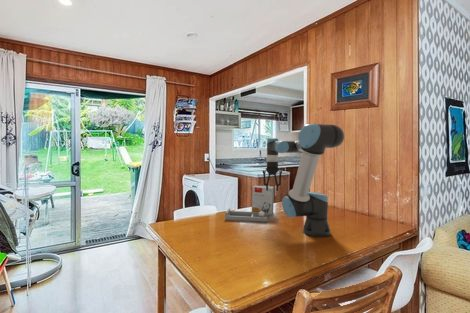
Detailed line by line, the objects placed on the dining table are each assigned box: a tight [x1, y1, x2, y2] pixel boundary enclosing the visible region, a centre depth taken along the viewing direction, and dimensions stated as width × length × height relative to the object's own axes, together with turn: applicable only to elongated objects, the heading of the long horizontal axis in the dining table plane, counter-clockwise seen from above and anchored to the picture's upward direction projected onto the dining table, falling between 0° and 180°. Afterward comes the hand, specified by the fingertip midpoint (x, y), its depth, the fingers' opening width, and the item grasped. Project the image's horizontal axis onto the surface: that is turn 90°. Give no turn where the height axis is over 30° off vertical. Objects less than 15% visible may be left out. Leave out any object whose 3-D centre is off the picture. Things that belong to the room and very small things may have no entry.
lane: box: [224, 207, 269, 223], centre depth 177 cm, size 28×14×5 cm, turn 81°
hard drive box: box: [251, 185, 275, 216], centre depth 192 cm, size 16×8×20 cm, turn 73°
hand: (272, 195), depth 174 cm, fingers open, 4 cm apart
